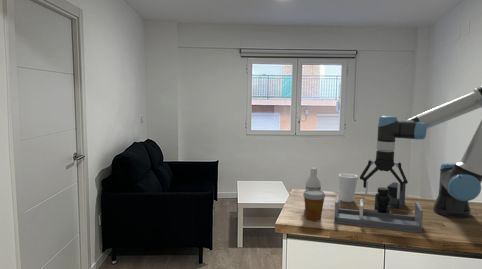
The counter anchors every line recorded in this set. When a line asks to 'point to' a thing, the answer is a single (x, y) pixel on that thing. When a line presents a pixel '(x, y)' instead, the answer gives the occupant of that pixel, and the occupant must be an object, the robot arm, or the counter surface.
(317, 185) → the bath foam
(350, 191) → the foam cup
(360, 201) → the pusher
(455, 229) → the counter surface
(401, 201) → the small box
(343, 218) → the tray
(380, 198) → the supplement bottle
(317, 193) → the disposable coffee cup
